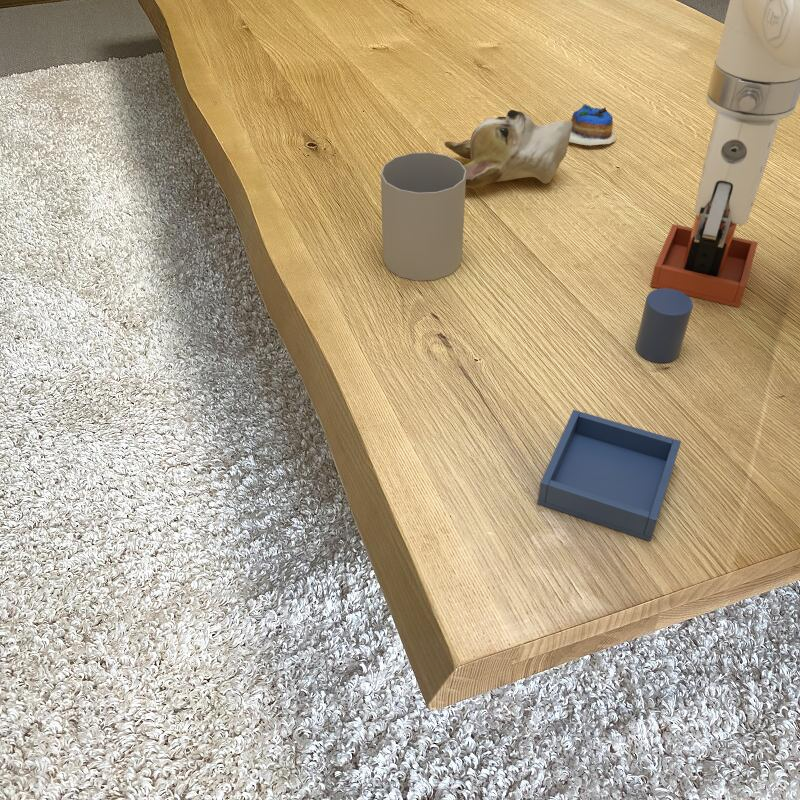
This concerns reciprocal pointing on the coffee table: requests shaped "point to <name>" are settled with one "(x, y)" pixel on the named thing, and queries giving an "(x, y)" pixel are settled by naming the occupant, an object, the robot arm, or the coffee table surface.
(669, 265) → the terracotta tray
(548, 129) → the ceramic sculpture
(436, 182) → the cup
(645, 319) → the blue peg
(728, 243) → the terracotta peg
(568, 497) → the blue tray
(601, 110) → the dessert
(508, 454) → the coffee table surface
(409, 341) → the coffee table surface
